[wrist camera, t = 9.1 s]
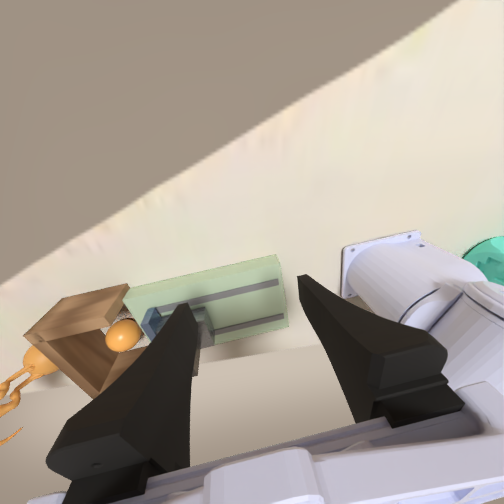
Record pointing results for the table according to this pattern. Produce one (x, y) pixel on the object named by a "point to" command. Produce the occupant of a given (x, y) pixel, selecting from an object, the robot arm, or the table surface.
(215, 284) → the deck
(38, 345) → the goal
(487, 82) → the table surface
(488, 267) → the decorative dice
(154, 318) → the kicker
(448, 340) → the robot arm
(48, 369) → the figurine
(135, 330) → the ball
